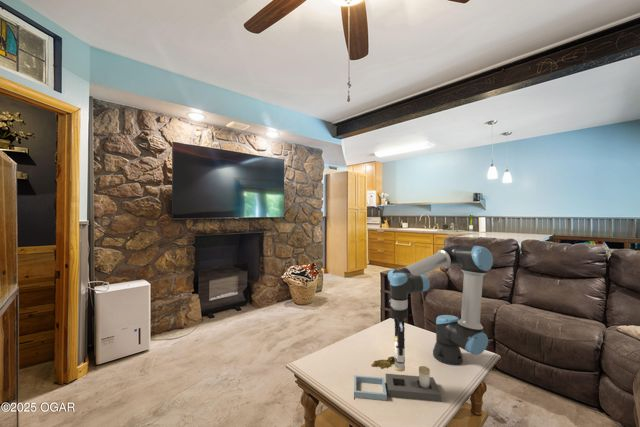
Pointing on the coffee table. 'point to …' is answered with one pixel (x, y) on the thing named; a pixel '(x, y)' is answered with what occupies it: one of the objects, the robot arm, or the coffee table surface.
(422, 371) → the fuse
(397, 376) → the fuse holder
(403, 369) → the cylinder
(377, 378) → the parts tray
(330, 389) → the coffee table surface
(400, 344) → the robot arm
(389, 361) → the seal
